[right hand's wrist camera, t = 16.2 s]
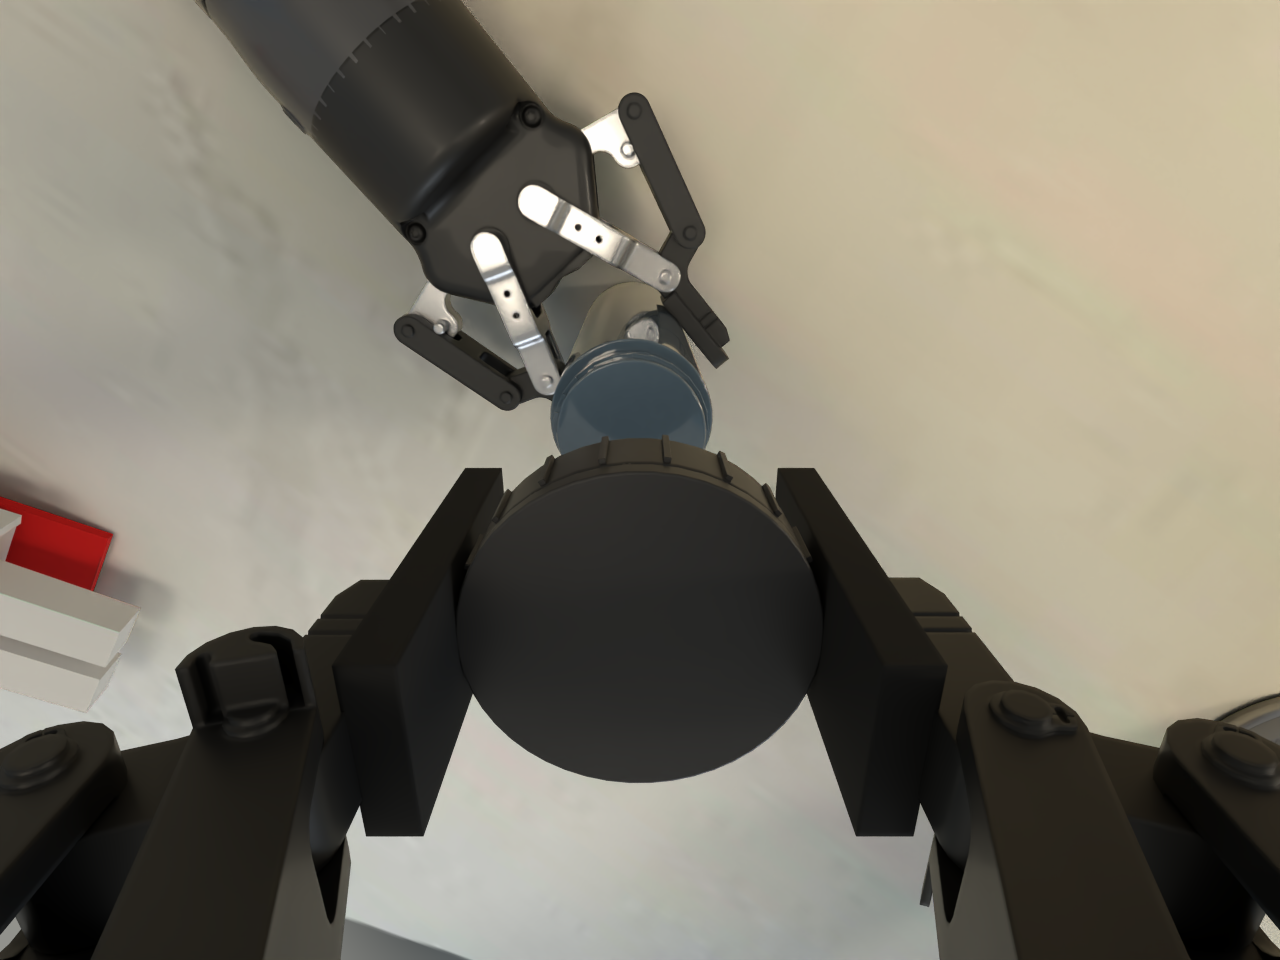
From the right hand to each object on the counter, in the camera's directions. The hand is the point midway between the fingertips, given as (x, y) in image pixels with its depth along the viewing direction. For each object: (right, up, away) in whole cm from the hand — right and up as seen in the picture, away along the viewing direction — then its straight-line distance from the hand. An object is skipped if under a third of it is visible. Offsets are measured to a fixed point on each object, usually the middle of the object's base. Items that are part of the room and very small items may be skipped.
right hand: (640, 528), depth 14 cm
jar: (0, +9, +21) cm, 23 cm away
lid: (0, -1, -3) cm, 4 cm away
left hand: (+1, +5, +16) cm, 17 cm away
